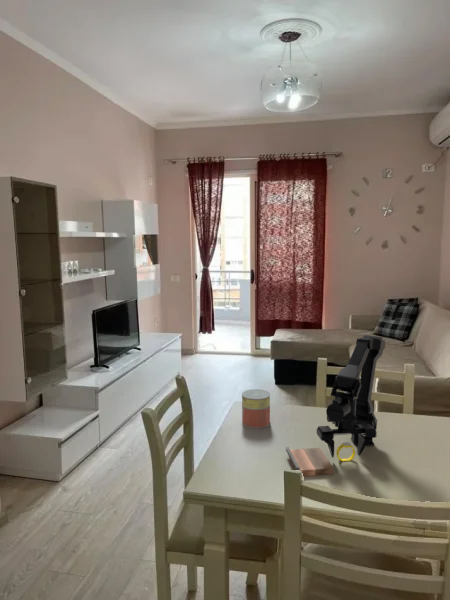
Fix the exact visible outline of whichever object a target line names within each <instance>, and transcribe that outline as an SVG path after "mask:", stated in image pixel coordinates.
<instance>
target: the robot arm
mask: <svg viewBox="0 0 450 600" xmlns="http://www.w3.org/2000/svg"><path fill="white" fill-rule="evenodd" d="M355 344H356V345H355V347H354V349H353V351H352V353H351V355H350V358H349V360H348V363H347V365H346V366H345V367H343V368H341V369H340V370H339V372H338V374H337V375H336V376H335V379H334V381H333V385H332V390H331V392H330V396H331V397H334V398H333V399H332V403H330V404H329V405H328V406H327V407H326V410H325V411H326V412H325V413H326V421H327V422H328V423H331V424H332V425H334V426H335V428H334V429H333V428H331V427H330V426H329V425H320V426H318V427H316V435H317V436H318V438H319V439H320V440H321V441H322V442H324V443H326V445H327V447H328V449H329V450H328V451H329V454H330V456H331V458H332V459H333V458H334V456H335V439H334V437H335V436H343V435H346V436H347V435H351V437H350V440H351V441H352V442H353V443H354V444H355V445H356V447H357V455H358V457H359V456H361V454H362V453H363V451H364V450H365V448H366V447H368V446H376V445H375V443H374V441H373V440H374V438H377V437H378V436H377V433H378V432H377V430H378V429H377V428H378V419H377V417H376V415H375V408H374V405H373V404H372V401H371V400H372V396H373V395H372V394H373V387H374V381H375V373H376V366H377V361H378V360H380V358H381V357H382V356H383V353H384V350H385V348H386V340H384V339H383V337H382V336H379V335H370V334H369V335H368V334H364V335H363V336H362V337H360V336H359V337H357V338H356V342H355Z"/></svg>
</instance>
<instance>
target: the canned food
mask: <svg viewBox="0 0 450 600" xmlns="http://www.w3.org/2000/svg"><path fill="white" fill-rule="evenodd" d="M270 400H271V393H270V392H269V391H268V390H264V389H257V388H256V389H255V388H254V389H248V390H245V391H243V392H242V393H241V409H242V410H241V417H242V418H241V419H242V420H241V424H242V425H243V426H244V427H246V428H249V429H263V428H266V427H267V428H268V426H270V424H271V401H270Z"/></svg>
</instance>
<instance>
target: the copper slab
mask: <svg viewBox="0 0 450 600" xmlns="http://www.w3.org/2000/svg"><path fill="white" fill-rule="evenodd" d="M285 452H286V454H287V455H288V457H289V459H290V461H291V462H292V465H293V467H294V469H295V471H296V470H300V471H302V473H303V476H302V477H309V476H310V477H313V476H325V475H334V474H335V473H334V472H335V470H334V469H335V468H334V466H333V465H332V463H331V461H330V460H329V459H328V458H327V456H326V454H325V453H324V452H323V450H322V449H321V448H320V447H311V448H299V449H298V448H297V449H296V448H295V449H290V448H289V447H288V446H286V447H285Z"/></svg>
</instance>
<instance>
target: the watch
mask: <svg viewBox="0 0 450 600" xmlns="http://www.w3.org/2000/svg"><path fill="white" fill-rule="evenodd" d="M343 448H346V449H347V448H348V449H349V448H351V450H352V453H351V455H350V456H349V457H347V458H341V457H340V451H341V450H342V449H343ZM355 456H356V450H355V448H354V446H352V445H351V443H349V442H347V441H346V442H345V441H343V442H342V443H341V444H340V445H339V446H338V447H337V449H336V457H337V458H338V459H339V461H341V462H352V460H353V459H354V458H355Z"/></svg>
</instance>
